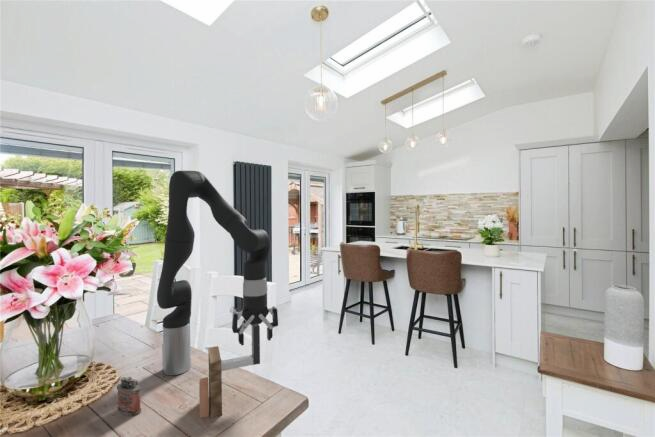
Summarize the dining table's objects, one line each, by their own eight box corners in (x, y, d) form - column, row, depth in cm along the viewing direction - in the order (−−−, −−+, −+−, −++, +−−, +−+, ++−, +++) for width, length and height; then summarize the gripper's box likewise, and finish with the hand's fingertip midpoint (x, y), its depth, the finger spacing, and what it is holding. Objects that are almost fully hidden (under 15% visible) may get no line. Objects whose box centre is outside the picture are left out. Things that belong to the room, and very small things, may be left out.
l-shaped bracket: (215, 373, 94) (214, 333, 93) (214, 368, 97) (213, 329, 96) (260, 363, 99) (259, 326, 99) (258, 359, 102) (257, 323, 102)
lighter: (114, 411, 93) (113, 378, 93) (125, 404, 96) (124, 373, 96) (133, 417, 90) (133, 383, 90) (144, 410, 93) (143, 377, 93)
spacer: (199, 417, 90) (199, 392, 90) (200, 402, 97) (199, 378, 97) (209, 415, 91) (208, 390, 91) (208, 400, 98) (208, 377, 98)
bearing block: (211, 417, 90) (210, 363, 89) (209, 396, 100) (208, 347, 100) (222, 415, 91) (221, 361, 91) (218, 394, 101) (218, 346, 101)
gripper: (274, 287, 106) (274, 334, 106) (230, 291, 100) (231, 341, 101) (280, 292, 99) (280, 342, 99) (233, 297, 93) (234, 351, 94)
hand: (255, 342), depth 100 cm, fingers open, 8 cm apart
